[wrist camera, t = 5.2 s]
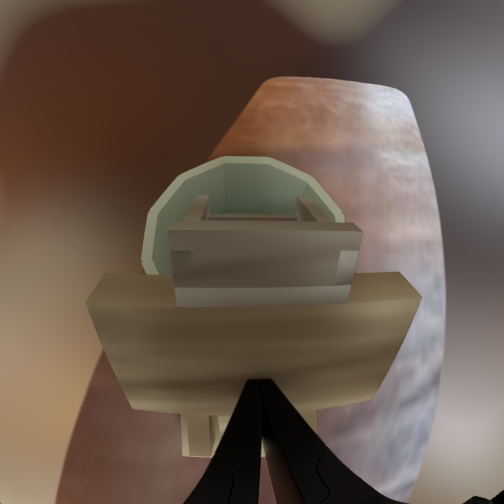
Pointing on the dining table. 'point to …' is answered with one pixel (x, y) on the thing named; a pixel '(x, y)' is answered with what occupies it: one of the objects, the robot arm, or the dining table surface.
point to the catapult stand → (215, 433)
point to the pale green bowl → (229, 199)
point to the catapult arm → (253, 315)
